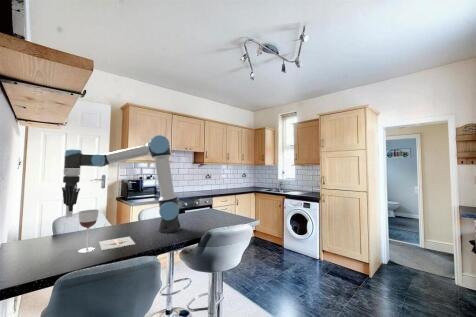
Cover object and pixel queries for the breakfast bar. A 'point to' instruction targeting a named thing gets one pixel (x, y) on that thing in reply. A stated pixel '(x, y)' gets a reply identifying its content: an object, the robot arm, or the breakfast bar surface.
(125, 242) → the mat
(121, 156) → the robot arm
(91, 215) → the wineglass
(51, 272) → the breakfast bar surface
